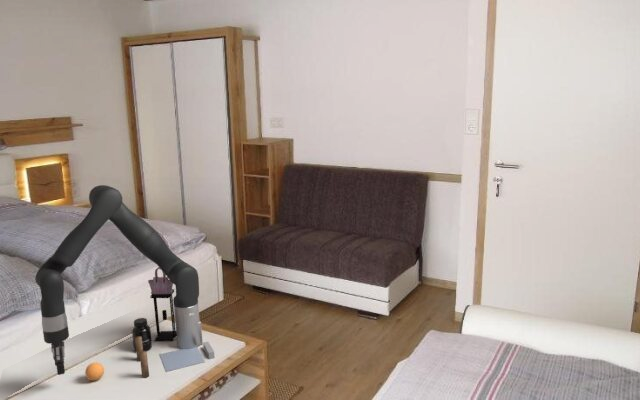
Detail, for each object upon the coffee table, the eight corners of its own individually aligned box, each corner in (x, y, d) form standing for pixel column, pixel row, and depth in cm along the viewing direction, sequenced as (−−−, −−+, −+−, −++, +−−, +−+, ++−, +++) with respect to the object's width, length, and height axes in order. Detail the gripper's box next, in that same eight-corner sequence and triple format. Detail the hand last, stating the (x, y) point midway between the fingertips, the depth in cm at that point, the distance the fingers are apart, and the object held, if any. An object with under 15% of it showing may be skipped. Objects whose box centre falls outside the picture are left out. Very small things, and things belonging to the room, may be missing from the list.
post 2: (148, 373, 186) (146, 350, 185) (149, 376, 184) (147, 353, 182) (141, 375, 185) (139, 352, 184) (142, 378, 183) (140, 355, 181)
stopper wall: (208, 347, 204) (208, 341, 204) (214, 357, 196) (214, 351, 196) (203, 348, 203) (203, 342, 203) (209, 359, 195) (208, 352, 195)
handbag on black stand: (182, 332, 217) (175, 264, 211) (176, 341, 210) (169, 270, 204) (157, 332, 218) (150, 264, 212) (150, 341, 211) (143, 270, 205)
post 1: (143, 357, 198) (141, 335, 196) (144, 360, 196) (142, 338, 194) (136, 359, 197) (134, 337, 195) (137, 362, 195) (135, 339, 193)
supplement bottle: (146, 353, 201) (143, 324, 198) (130, 352, 202) (127, 323, 200) (155, 345, 207) (152, 317, 205) (139, 344, 209) (136, 316, 206)
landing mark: (196, 346, 206) (196, 345, 206) (204, 362, 193) (204, 361, 193) (159, 354, 200) (159, 354, 200) (166, 371, 187) (166, 371, 187)
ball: (104, 373, 188) (102, 357, 187) (105, 381, 182) (103, 365, 181) (86, 377, 185) (83, 361, 184) (86, 385, 180) (84, 369, 179)
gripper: (67, 331, 171) (73, 379, 174) (67, 316, 182) (73, 362, 186) (41, 336, 167) (48, 385, 171) (43, 320, 179) (49, 367, 183)
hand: (61, 373), depth 178 cm, fingers closed
